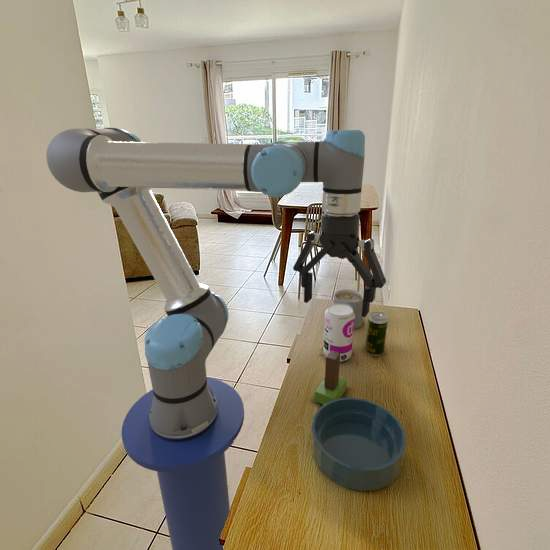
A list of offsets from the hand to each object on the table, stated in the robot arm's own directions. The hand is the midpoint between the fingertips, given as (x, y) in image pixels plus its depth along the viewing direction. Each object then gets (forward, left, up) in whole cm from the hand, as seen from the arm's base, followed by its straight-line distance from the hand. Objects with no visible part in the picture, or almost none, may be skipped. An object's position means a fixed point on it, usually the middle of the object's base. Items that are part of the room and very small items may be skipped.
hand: (335, 307), depth 79 cm
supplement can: (-5, +17, -25) cm, 31 cm away
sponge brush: (0, 0, -25) cm, 25 cm away
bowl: (+11, -13, -25) cm, 30 cm away
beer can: (+4, +24, -25) cm, 35 cm away
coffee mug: (-9, +35, -25) cm, 44 cm away
